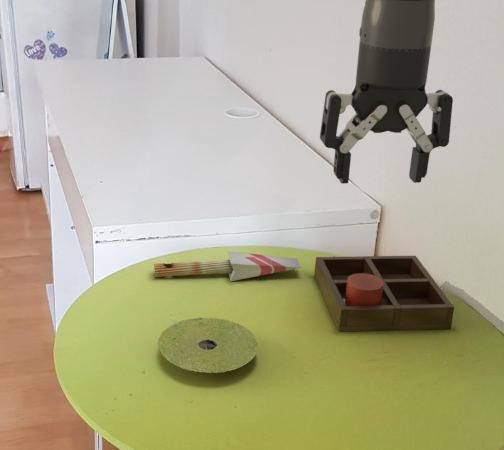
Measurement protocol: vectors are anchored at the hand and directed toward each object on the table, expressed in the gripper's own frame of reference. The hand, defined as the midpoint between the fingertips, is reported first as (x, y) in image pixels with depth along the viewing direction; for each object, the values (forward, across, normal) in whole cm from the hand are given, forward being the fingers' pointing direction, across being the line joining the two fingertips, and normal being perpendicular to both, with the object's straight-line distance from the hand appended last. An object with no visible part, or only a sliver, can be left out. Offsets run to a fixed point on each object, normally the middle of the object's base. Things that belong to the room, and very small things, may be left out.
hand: (379, 180), depth 87 cm
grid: (+18, +3, +3) cm, 19 cm away
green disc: (+18, -20, -8) cm, 29 cm away
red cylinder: (+17, 0, 0) cm, 17 cm away
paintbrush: (+18, -16, +11) cm, 27 cm away
